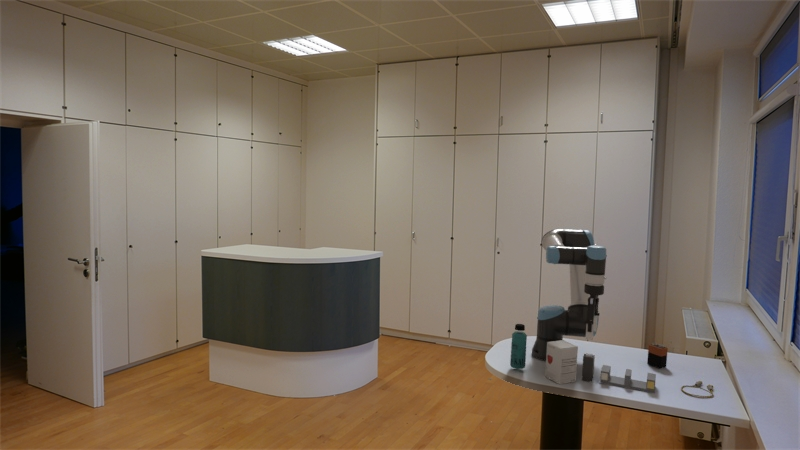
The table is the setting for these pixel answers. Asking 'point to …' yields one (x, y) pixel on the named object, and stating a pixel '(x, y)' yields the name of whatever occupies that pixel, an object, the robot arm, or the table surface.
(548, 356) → the supplement box
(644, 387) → the grey three-post rail
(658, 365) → the battery
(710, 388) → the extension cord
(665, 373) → the table surface
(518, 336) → the beverage bottle
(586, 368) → the plug
